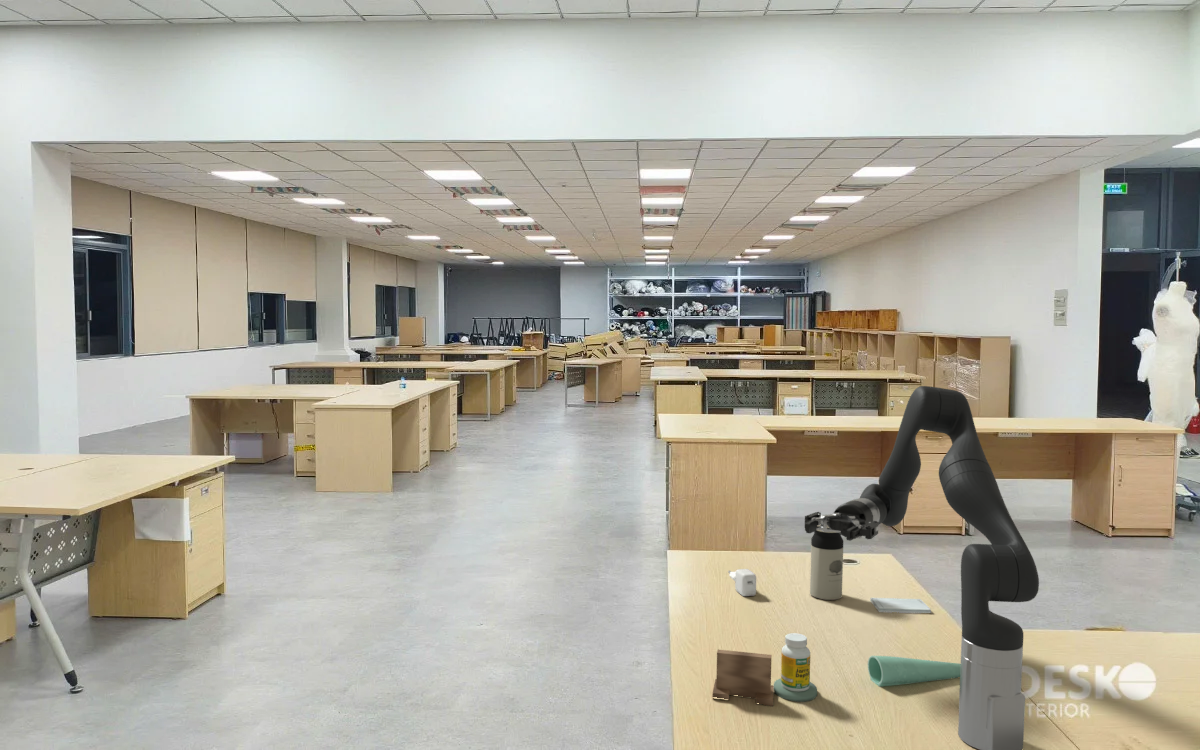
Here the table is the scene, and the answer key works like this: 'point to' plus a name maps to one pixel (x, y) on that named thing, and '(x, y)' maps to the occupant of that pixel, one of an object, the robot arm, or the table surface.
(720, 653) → the divider
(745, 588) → the power adapter
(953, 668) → the long green cone
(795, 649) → the supplement bottle
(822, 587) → the travel mug
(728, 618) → the table surface
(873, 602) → the hard drive
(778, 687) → the pad
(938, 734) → the table surface
